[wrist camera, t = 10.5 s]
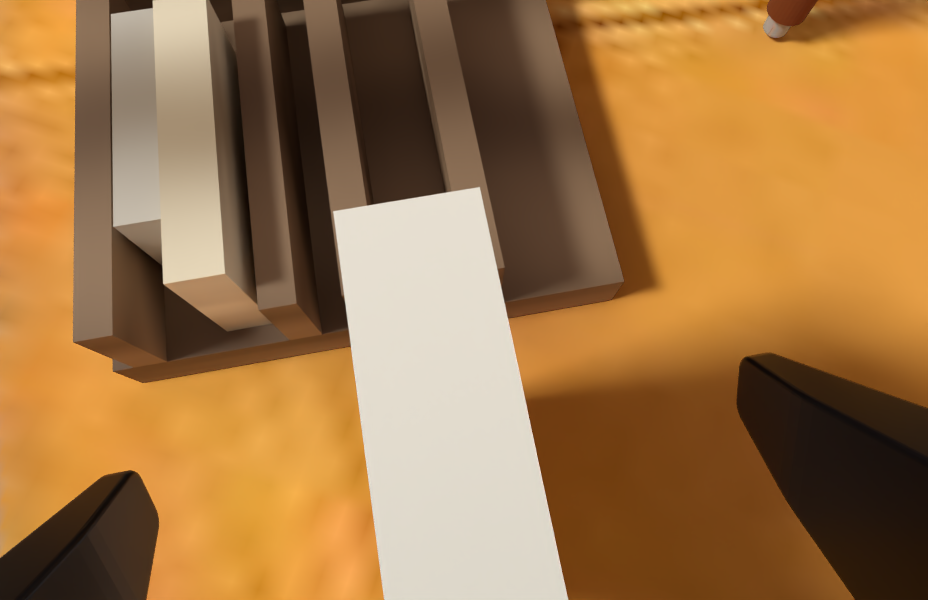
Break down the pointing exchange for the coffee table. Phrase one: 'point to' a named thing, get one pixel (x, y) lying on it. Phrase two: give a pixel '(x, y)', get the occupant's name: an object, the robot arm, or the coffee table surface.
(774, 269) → the coffee table surface
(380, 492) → the white flat board
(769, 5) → the magnifying glass
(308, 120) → the offcut rack
